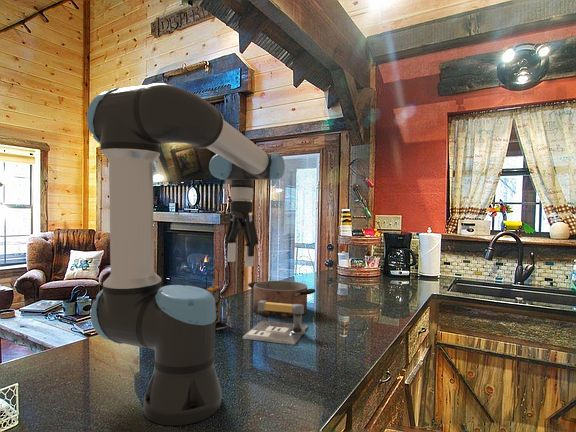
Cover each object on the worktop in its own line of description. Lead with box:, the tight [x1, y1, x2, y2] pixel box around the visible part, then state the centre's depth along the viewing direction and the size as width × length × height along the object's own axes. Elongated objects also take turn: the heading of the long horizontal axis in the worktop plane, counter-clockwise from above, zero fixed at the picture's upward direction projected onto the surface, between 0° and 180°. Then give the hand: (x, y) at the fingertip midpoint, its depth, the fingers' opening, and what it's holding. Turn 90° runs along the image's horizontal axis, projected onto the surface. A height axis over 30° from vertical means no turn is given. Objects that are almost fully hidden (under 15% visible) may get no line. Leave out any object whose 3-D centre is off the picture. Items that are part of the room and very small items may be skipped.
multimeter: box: [205, 267, 232, 331], centre depth 128 cm, size 15×10×20 cm
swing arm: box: [258, 300, 305, 315], centre depth 121 cm, size 16×4×3 cm, turn 76°
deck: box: [242, 314, 308, 346], centre depth 121 cm, size 19×18×7 cm
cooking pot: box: [247, 280, 316, 318], centre depth 151 cm, size 30×22×11 cm
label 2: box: [265, 326, 289, 334], centre depth 121 cm, size 5×7×1 cm
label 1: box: [247, 330, 273, 338], centre depth 116 cm, size 5×7×1 cm
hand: (239, 264), depth 121 cm, fingers open, 13 cm apart
